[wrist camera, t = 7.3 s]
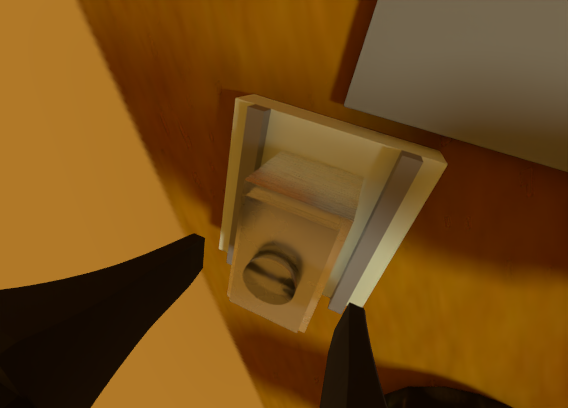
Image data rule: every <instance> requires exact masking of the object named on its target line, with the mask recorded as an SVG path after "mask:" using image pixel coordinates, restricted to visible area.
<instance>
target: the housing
mask: <svg viewBox="0 0 568 408" xmlns="http://www.w3.org/2000/svg"><path fill="white" fill-rule="evenodd" d="M363 180H364V177H362V176H359V175H356V174H353V173H350V172H347V171H344V170H341V169H338V168H336V167H333V166H330V165H327V164H324V163H321V162H318V161H315V160H312V159H309V158H306V157H303V156H300V155H297V154H295V153H292V152H289V151H286V150H282V151H281V152H279V153H278V154H277V155H275V156H274V157H273V158H272V159H270V160H269V161H268V162H266V163H265V164H264V165H263V166H261V167H260V168H259V169H257V170H256V171H255V172H254V173H252V174H251V175H250V176H248V177H247V178H246V179H245V180H244V185H243V191H242V198H241V205H240V212H239V218H238V225H237V232H236V239H235V245H234V252H233V259H232V265H231V272H230V279H229V286H228V292H227V296H228V297H230V299H229V301H231V302H233V303H235V304H237V305H239V306H241V307H243V308H245V309H247V310H249V311H251V312H254V313H256V314H258V315H260V316H262V317H264V318H266V319H268V320H270V321H272V322H274V323H276V324H279V325H281V326H283V327H285V328H287V329H289V330H291V331H293V332H295V333H297V332H298V330H299V331H301V332H305V330H306V328H307V326H308V323H309V321H310V319H311V317H312V314H313V312H314V310H315V308H316V305H317V303H318V301H319V299H320V296H321V294H322V292H323V290H324V287H325V285H326V283H327V281H328V278H329V276H330V274H331V272H332V269H333V267H334V265H335V263H336V260H337V258H338V256H339V254H340V251H341V249H342V247H343V244H344V242H345V240H346V238H347V235H348V233H349V231H350V229H351V226H352V224H353V222H354V218H355V214H356V210H357V206H358V201H359V197H360V193H361V188H362V184H363Z"/></svg>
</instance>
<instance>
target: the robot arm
mask: <svg viewBox="0 0 568 408" xmlns="http://www.w3.org/2000/svg"><path fill="white" fill-rule="evenodd" d="M204 242H205V238H204V237H201V236H199V235H197V234H195V233H194V234H191V235H189V236H186V237H184V238H182V239H180V240H177V241H175V242H173V243H171V244H168V245H166V246H164V247H161V248H159V249H156V250H154V251H152V252H149V253H147V254H145V255H142V256H139V257H136V258H134V259H131V260H128V261H126V262H123V263H120V264H117V265H114V266H111V267H107V268H104V269H101V270H97V271H94V272H90V273H86V274H83V275H78V276H74V277H70V278H66V279H61V280H56V281H52V282H47V283H41V284H36V285H30V286H24V287H18V288H11V289H3V290H0V408H91V406H92V405H93V403H94V402H95V400H96V399H97V398H98V396H99V395H100V393H101V392H102V390H103V389H104V387H105V386H106V385H107V384H108V382H109V381H110V379H111V378H112V377H113V375H114V374H115V372H116V371H117V370H118V368H119V367H120V366H121V364H122V363H123V362H124V360H125V359H126V358H127V356H128V355H129V354H130V352H131V351H132V350H133V349H134V347H135V346H136V345H137V343H138V342H139V341H140V340H141V338H142V337H143V336H144V335H145V333H146V332H147V331H148V330H149V328H150V327H151V326H152V325H153V324H154V323H155V322H156V321H157V320H158V318H160V317H161V316H162V314H163V313H164V312H165V311H166V310H167V309H168V308H169V307H170V306H171V305H172V304H173V303H174V302H175V301H176V300H177V299H178V298H179V297H180V295H181V294H182V293H183V292H184V291H185V290H186V289H187V288H188V287H189V286H190V285H191V283H192V282H193V281H194V279H195V278H196V277H197V275H198V274H199V272H200V271H201V270H202V268H203V257H204ZM320 408H388V407H387V404H386V401H385V397H384V394H383V391H382V388H381V384H380V381H379V377H378V373H377V370H376V366H375V362H374V357H373V353H372V349H371V344H370V339H369V334H368V329H367V323H366V315H365V310H364V308H362V307H360V306H357V305H355V304H353V303H350V302H349V304H348V306H347V308H346V310H345V311H344V313H343V315H342V317H341V319H340V321H339V322H338V324H337V326H336V328H335V330H334V333H333V337H332V341H331V345H330V348H329V352H328V358H327V364H326V370H325V377H324V383H323V390H322V396H321V403H320Z"/></svg>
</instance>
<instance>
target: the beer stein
mask: <svg viewBox="0 0 568 408" xmlns="http://www.w3.org/2000/svg"><path fill="white" fill-rule="evenodd" d="M384 397H385V401H386V404H387V407H388V408H511V407H509V406H507V405H504V404H502V403H499V402H497V401H494V400H492V399H489V398H487V397H484V396H482V395H480V394H475V393H471V392H466V391H462V390H457V389H453V388H448V387H407V388H404V389H401V390H398V391H395V392H392V393H389V394H386V395H384Z"/></svg>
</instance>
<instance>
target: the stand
mask: <svg viewBox="0 0 568 408" xmlns="http://www.w3.org/2000/svg"><path fill="white" fill-rule="evenodd" d="M282 150H286V151H289V152H292V153H295V154H297V155H300V156H303V157H306V158H309V159H312V160H315V161H318V162H321V163H324V164H327V165H330V166H333V167H336V168H338V169H341V170H344V171H347V172H350V173H353V174H356V175H359V176H362V177H364V180H363V184H362V188H361V193H360V197H359V201H358V206H357V210H356V214H355V218H354V222H353V224H352V226H351V229H350V231H349V233H348V235H347V238H346V240H345V242H344V244H343V247H342V249H341V251H340V254H339V256H338V258H337V260H336V263H335V265H334V267H333V269H332V272H331V274H330V276H329V278H328V281H327V283H326V285H325V287H324V290H323V292H322V295H325V296H327V297H329V298H330V302H329V306H328V309H331V310H333V311H335V312H337V313H339V314H342V312H343V310H344V308H345V306H346V305H347V306H348V304H349V302H350V303H353V304H355V305H357V306H360V307H363V305H364V304H365V302H366V300H367V299H368V297H369V295H370V294H371V292H372V290H373V289H374V287H375V285H376V284H377V282H378V280H379V279H380V277H381V275H382V274H383V272H384V270H385V269H386V267H387V265H388V264H389V262H390V260H391V259H392V257H393V255H394V254H395V252H396V250H397V249H398V247H399V245H400V244H401V242H402V240H403V239H404V237H405V235H406V234H407V232H408V230H409V229H410V227H411V225H412V223H413V222H414V220H415V218H416V217H417V215H418V213H419V212H420V210H421V208H422V207H423V205H424V203H425V202H426V200H427V198H428V197H429V195H430V193H431V192H432V190H433V188H434V187H435V185H436V183H437V182H438V180H439V178H440V177H441V175H442V173H443V172H444V170H445V168H446V167H447V165H448V164H447V162H446V161H445V159H444V157H443V155H442V154H441V152H440V151H439V150H435V149H432V148H429V147H426V146H422V145H419V144H416V143H412V142H409V141H406V140H403V139H399V138H396V137H393V136H390V135H386V134H383V133H380V132H377V131H373V130H370V129H367V128H364V127H360V126H357V125H354V124H350V123H347V122H344V121H341V120H337V119H334V118H331V117H328V116H324V115H321V114H318V113H315V112H311V111H308V110H305V109H302V108H298V107H295V106H292V105H288V104H285V103H282V102H279V101H275V100H272V99H269V98H266V97H262V96H259V95H256V94H251V95H247V96H242V97H237V98H235V107H234V116H233V125H232V134H231V143H230V153H229V162H228V171H227V180H226V189H225V198H224V207H223V217H222V226H221V235H220V244H219V249H221V250H223V251H225V252H228V255H227V262H226V263H229V264H231V265H232V259H233V252H234V245H235V239H236V232H237V225H238V218H239V212H240V205H241V198H242V191H243V185H244V180H245V179H246V178H247V177H248V176H250V175H251V174H252V173H254V172H255V171H256V170H257V169H259V168H260V167H261V166H263V165H264V164H265V163H266V162H268V161H269V160H270V159H272V158H273V157H274V156H275V155H277V154H278V153H279V152H281V151H282Z"/></svg>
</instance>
